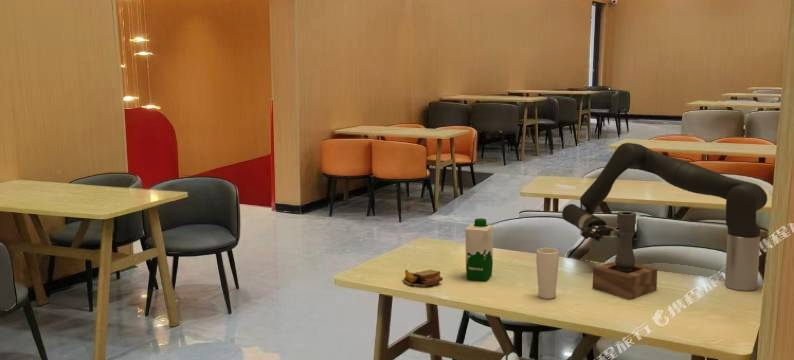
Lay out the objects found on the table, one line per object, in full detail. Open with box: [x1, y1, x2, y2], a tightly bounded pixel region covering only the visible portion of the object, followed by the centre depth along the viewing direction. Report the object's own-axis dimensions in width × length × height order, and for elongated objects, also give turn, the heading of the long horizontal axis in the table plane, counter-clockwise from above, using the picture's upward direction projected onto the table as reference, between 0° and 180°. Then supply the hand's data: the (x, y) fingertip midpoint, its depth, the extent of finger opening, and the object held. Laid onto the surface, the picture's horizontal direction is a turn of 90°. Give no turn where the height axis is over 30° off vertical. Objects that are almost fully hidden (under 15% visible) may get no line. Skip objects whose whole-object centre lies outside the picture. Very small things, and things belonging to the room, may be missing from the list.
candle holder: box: [614, 210, 637, 274], centre depth 221 cm, size 6×6×25 cm
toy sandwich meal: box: [403, 269, 443, 287], centre depth 235 cm, size 12×14×5 cm
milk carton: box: [464, 217, 494, 283], centre depth 237 cm, size 9×9×20 cm
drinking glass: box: [535, 247, 560, 300], centre depth 216 cm, size 7×7×15 cm
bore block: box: [592, 260, 658, 300], centre depth 222 cm, size 14×14×7 cm
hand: (611, 237), depth 231 cm, fingers open, 8 cm apart
